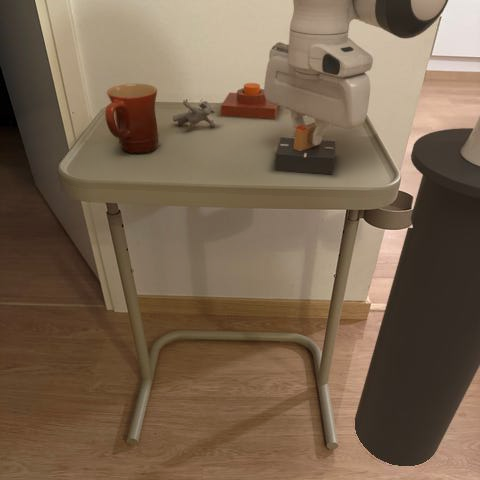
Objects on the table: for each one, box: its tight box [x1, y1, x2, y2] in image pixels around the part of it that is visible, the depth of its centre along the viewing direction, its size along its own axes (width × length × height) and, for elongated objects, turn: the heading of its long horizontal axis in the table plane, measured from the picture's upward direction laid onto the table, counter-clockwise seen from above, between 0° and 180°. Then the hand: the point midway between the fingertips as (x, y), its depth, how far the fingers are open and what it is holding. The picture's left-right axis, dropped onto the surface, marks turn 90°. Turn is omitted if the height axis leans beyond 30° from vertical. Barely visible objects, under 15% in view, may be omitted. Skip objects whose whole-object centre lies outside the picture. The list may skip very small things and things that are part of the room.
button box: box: [220, 87, 280, 120], centre depth 105 cm, size 12×10×4 cm
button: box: [243, 82, 261, 94], centre depth 103 cm, size 4×4×2 cm
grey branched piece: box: [172, 97, 217, 132], centre depth 95 cm, size 10×6×9 cm
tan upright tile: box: [293, 121, 320, 151], centre depth 80 cm, size 5×2×4 cm, turn 130°
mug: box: [104, 83, 159, 155], centre depth 84 cm, size 12×9×10 cm
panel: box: [274, 136, 336, 176], centre depth 83 cm, size 10×9×3 cm
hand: (307, 141), depth 81 cm, fingers closed, pressing on tan upright tile
